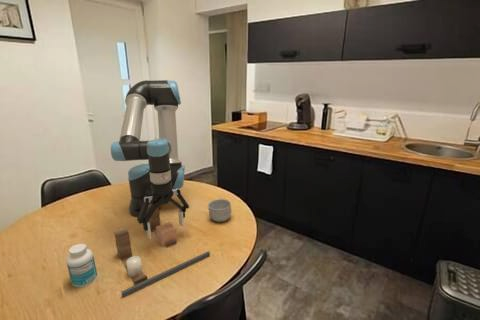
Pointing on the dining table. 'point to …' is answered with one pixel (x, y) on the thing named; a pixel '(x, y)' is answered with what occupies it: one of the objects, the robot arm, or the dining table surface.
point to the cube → (166, 233)
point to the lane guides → (164, 274)
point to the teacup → (219, 209)
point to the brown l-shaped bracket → (126, 251)
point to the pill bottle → (81, 265)
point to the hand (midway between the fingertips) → (166, 230)
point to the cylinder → (134, 266)
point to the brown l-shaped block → (158, 224)
